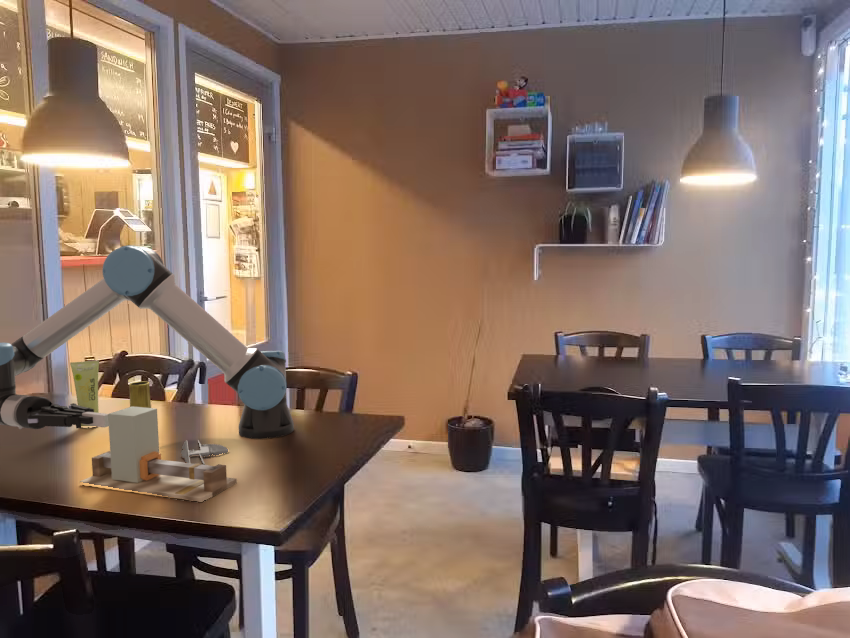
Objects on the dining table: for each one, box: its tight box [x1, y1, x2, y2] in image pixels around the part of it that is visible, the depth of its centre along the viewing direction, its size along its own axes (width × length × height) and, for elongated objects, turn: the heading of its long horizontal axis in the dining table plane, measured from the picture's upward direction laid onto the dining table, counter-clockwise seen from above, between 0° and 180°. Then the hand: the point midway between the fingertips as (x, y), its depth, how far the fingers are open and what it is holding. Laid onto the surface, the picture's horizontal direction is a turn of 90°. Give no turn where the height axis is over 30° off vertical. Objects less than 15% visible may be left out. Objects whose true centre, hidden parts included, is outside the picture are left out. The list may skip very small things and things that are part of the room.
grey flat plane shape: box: [180, 439, 228, 465], centre depth 165 cm, size 28×28×1 cm
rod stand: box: [79, 450, 238, 502], centre depth 144 cm, size 32×12×5 cm, turn 71°
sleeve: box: [107, 406, 162, 483], centre depth 145 cm, size 8×7×15 cm
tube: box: [69, 359, 100, 426], centre depth 190 cm, size 6×5×20 cm
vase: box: [128, 380, 152, 408], centre depth 184 cm, size 6×6×14 cm
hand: (107, 420), depth 147 cm, fingers closed
